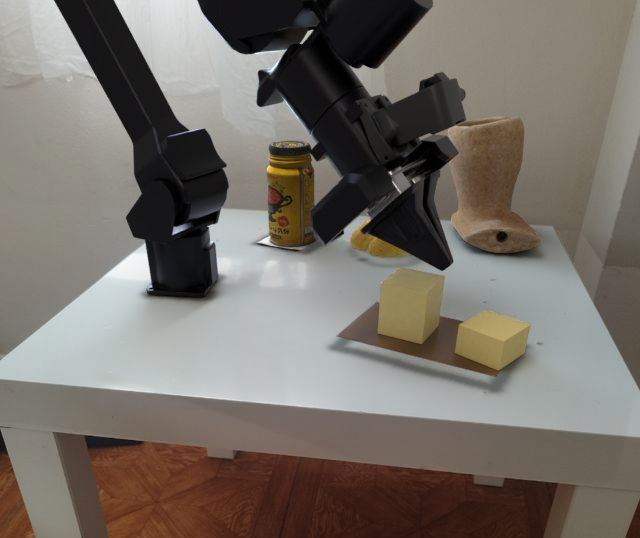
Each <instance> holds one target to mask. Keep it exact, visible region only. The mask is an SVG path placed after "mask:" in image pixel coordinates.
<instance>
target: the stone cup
mask: <svg viewBox="0 0 640 538" xmlns="http://www.w3.org/2000/svg"><path fill="white" fill-rule="evenodd" d="M447 136H448V138H449V139H450V140H451V142H452V143H453V145H454V146H455V148H456V149H457V150H458V152H459V153H458V154H457V155H456V156H455V157H454V158H453V159H452V160H451V161H450V162H448V165H449V168H450V171H451V175H452V179H453V182H454V187H455V192H456V197H457V203H458V205H457V207H458V208H457V211H455V212H454V213H452V214H451V217H450V223H451V225H452V227H453V228H454V230H455V231H456V233H457V234H458V235H459V236H460V238H461V240H463V241H464V242H465V243H467V244H468V245H470V246H472V247H475V248H478V249H480V250H483V251H486V252H490V253H493V254H510V253H512V254H515V253H519V252H525V251H528V250H531V249H535V248H537V247H539V246H540V245H541V244H542V243H543V241H542V238H541V237H540V236H539V234H538V233H537V231H535V230H534V228H533V227H532V226H530V225H529V223H528V222H527V221H526V220H525V219H524V218H523V217H522V216H520V215H519V214H518V213H516V212H514V211H512V200H513V194H514V190H515V187H516V183H517V180H518V177H519V175H520V171H521V168H522V163H523V157H524V145H525V144H524V142H525V126H524V122H523V120H522V119H521V118H520V117H519V116H517V115H515V116H513V117H511V116H507V115H499V116H491V117H484V118H480V119H469V120H467V119H466V121H464V122H461V123H459V124H457V125H455V126H453V127H451V128H448V129H447Z"/></svg>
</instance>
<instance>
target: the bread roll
mask: <svg viewBox="0 0 640 538" xmlns="http://www.w3.org/2000/svg"><path fill="white" fill-rule="evenodd" d="M370 221H371V220H370V219H367V220H366V221H364V222H363V223H361V224H360V225H358V226H357V227H356V228H355V229H354V230H353V232H352V233H351V234H350V238H349V244H350V246H351V247H352V248H353V249H355V250H358V251H362V252H367V253H368V254H369V255H371V256H374V257H378V258H379V257H380V258H403V257H410V256H412V255H411V254H409V253H407V252H406V251H403V250H401V249H399V248H397V247H395V246H393V245H391V244H389V243H387V242H385V241H383V240H381V239H378V238H376V237H374V236H372V235H370V234H365V235H364V234H362V233H361V232H360V230H361V229H362V228H363V227H364V226H365V225H366V224H368V223H369V222H370Z"/></svg>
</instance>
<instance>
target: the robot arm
mask: <svg viewBox="0 0 640 538" xmlns="http://www.w3.org/2000/svg"><path fill="white" fill-rule="evenodd" d="M53 1H54V3H55V5H56V7H57V9H58V11H59V12H60V14H61V16H62V18H63V20H64V21H65V23H66V25H67V27H68V29H69V30H70V33H71V34H72V36H73V37H74V39H75V41H76V43H77V46H78V47H79V48H80V50H81V53H83V55H84V57H85V59H86V60H87V63H88V64H89V67H90V68H91V70H92V73H94V75H95V77H96V79H97V82H98V83H99V85H100V86H101V88H102V90H103V92H104V94H105V95H106V97H107V99H108V101H109V102H110V104H111V106H112V108H113V110H114V111H115V112H114V113H116V116H117V117H118V119H119V121H120V122H121V124H122V126H123V128H124V130H125V132H126V134H127V135H128V137H129V138H130V141H131V143H132V153H133V158H132V159H133V176H134V179H135V181H136V183H137V186H138V188H139V191H140V193H141V194H140V195H139V197H138V198H137V200H136V202H135V203H133V205H132V207H131V209H129V210H128V213H127V215H126V216H125V221H126V223H127V225H128V228H129V230H130V233H131V235H132V237H133V238H135V239H139V240H143V241H144V244H145V250H146V255H147V263H148V269H149V275H150V282H151V283H150V284H149V285H148V286H147V287H146V289H145V290H146V291H145V292H146V294H148V295H159V296H160V295H161V296H173V297H174V296H175V297H177V296H178V297H191V298H195V297H196V298H203V297H206V295H207V293H208V292H209V291H210V289H211V288H212V286H213V285H214V284H215V282H216V281H217V280H218V278H219V271H218V270H219V269H218V258H217V257H218V256H217V247H216V243H215V241H211V233H210V227H209V226H212V225H217V224H218V223H219V220H220V215H221V210H222V207H223V206H225V203H226V201H227V198H228V190H229V188H230V184H229V179H228V177H227V175H226V172H225V170H224V169H225V168H227V165H228V164H227V163H226V162H225V161H224V160H223V159H222V157H221V156H220V155H219V153H218V152H217V149H216V147H215V145H214V142H213V139H212V137H211V135H210V134H209V131H208V130H207V129H206V128H205V127H201V128H197V129H193V130H190V129H189V128H188V127H186V126H185V125H184V124H183V123H181V122H180V120H178V117H176V115H175V113H174V111H173V109H172V107H171V105H170V103H169V102H168V100H167V98H166V96H165V94H164V92H163V90H162V88H161V87H160V85H159V83H158V81H157V78H156V77H155V75H154V73H153V71H152V69H151V68H150V65H149V63H148V61H147V59H146V58H145V56H144V54H143V53H142V50H141V48H140V47H139V44H138V43H137V40H136V39H135V37H134V36H133V33H132V32H131V29H130V27H129V26H128V24H127V22H126V20H125V17H124V16H123V14H122V12H121V10H120V9H119V7H118V5H117V3H116V1H115V0H53ZM196 1H197V3H198V7H199V8H200V12H201V14H202V16H203V17H204V19H206V21H207V22H208V23H209V24H210V25H211V27H212V28H213V29H214V30H215V32H216V33H217V34H218V35H219V36H220V38H222V40H223V41H224V43H226V44H227V46H228V47H230V48H231V49H232V50H233V51H235V52H237V53H238V54H242V55H247V56H248V55H259V54H267V53H278V52H279V53H280V52H284V53H282V55H281V56H280V57H279V59H278V61H277V62H276V63H275V65H274V66H273V67H269V68H268V67H267V68H263V69H258V71H257V79H258V84H257V89H256V99H255V103H256V106H257V107H259V108H264V107H269V106H273V105H277V104H282V103H284V102H285V103H286V105H287V106H288V107H289V109H290V110H291V112H292V113H293V114H294V116H295V117H296V118H297V120H298V121H299V122H300V124H301V126H302V127H303V128H304V129H305V131H306V132H307V133H308V135H309V136H310V138H311V139H312V141H313V142H314V143H315V145H314V146H313V147H311V151H310V153H311V157H313V159H314V160H315V161H316V162H321V161H323V160H325V159H326V160H327V161H328V162H329V164H330V165H331V167H332V169H334V171H335V172H336V173H337V175H338V176H339V178H340V180H339V181H338V182H337V183H336V184H335V185H333V187H332V188H331V189H330V190H329V191H328V192H327V193H326V194H325V195H324V196H323V197H321V199H320V200H318V202H316V204H314V207H313V208H312V209H311V210H310V228H311V230H312V231H313V232H314V234H315V235H316V236H317V238H318V239H319V240H318V241H319V242H320V243H321V244H322V246H323V247H327V246H329V245H330V244H331V243H333V242H335V241H337V240H338V239H340V238H342V236H343V235H344V234H345V229H346V228H347V227H349V226H350V225H351V224H352V223H353V222H354V221H355V220H356V219H357V218H359V216H361V214H362V213H363V212H364V211H365V210H367V212H366V213H365V214H366V216H367V217H368V220H371V221H370V222H369V223H368V224H366V225H365V226H364V227H363V228H362V229H361V230H360V232H361V233H362V234H364V235H365V234H370V235H372V236H374V237H376V238H378V239H381V240H383V241H385V242H387V243H389V244H391V245H393V246H395V247H397V248H399V249H401V250H403V251H406V252H407V253H409V254H411V255H410V256H413V257H415V258H416V259H418V260H420V261H422V262H424V263H425V264H427V265H429V266H431V267H433V268H435V269H437V270H439V271H442V272H443V271H446V270H447V269H448V268H450V267H451V266H452V265H453V263H454V258H453V255H452V252H451V249H450V245H449V242H448V240H447V236H446V233H445V231H444V228H443V225H442V222H441V220H440V216H439V212H438V209H437V206H436V201H435V195H436V191H437V185H438V181H439V178H440V177H441V170H442V169H443V168H444V167H446V165H447V164H449V162H450V161H451V160H452V159H453V158H454V157H455V156H456V155H457V154H458V153H459V152H458V150H457V149H456V148H455V146H454V145H453V143H452V142H451V140H450V139H449V138H448V135H444V134H439V133H441V132H444V131H446V130H449V128H451V127H453V126H455V125H457V124H459V123H461V122H464V121H467V117H466V113H465V109H464V104H463V101H464V100H465V99H466V95H467V93H466V90H465V89H464V88H462V87H461V86H460V85H459V82H458V79H457V78H455V77H454V78H449V77H448V76H447V75H446V73H445V72H444V71H440V72H436V73H434V74H433V75H431V76H429V77H428V78H424V79H421V80H420V81H419V82H418V84H419V85H418V89H417V92H415V93H414V92H413V93H412V94H410V95H408V96H406V97H403V98H401V99H399V100H397V101H395V102H393V103H392V102H391V101H390V99H389V98H388V97H387V95H385V94H384V95H382V93H381V94H377V95H371V94H370V92H369V91H368V90H367V88H366V87H365V85H364V84H363V82H362V81H361V80H360V78H359V77H358V75H357V74H356V73H355V71H354V69H356V70H357V69H358V70H359V69H361V68H362V67H363V66H364V67H367V68H368V69H373V70H378V68H380V67H381V65H382V64H383V63H384V62H386V60H388V58H389V57H390V56H391V54H392V53H393V52H394V51H395V50H396V49H397V48H398V47H399V46H400V44H402V42H403V41H404V40H405V38H406V37H407V36H408V35H409V34H410V33H411V32H412V31H413V30H414V29H415V27H416V26H417V25H418V24H419V23H420V22H421V21H422V19H423V18H425V16H426V15H427V14H428V13H429V12H430V11H431V10H432V9H433V6H434V0H196ZM308 32H311V33H310V34H309V35H308V36H307V34H308ZM306 36H307V38H306V39H305V37H306ZM304 39H305V40H304ZM303 40H304V41H303ZM429 134H430V135H429ZM426 135H429V136H427V137H424V136H426ZM421 137H424V138H422V139H420V138H421Z"/></svg>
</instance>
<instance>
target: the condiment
mask: <svg viewBox="0 0 640 538" xmlns="http://www.w3.org/2000/svg"><path fill="white" fill-rule="evenodd" d="M311 150H312V146H311V144H310V143H309V142H307V141H303V140H277V141H273V142H271V143H269V146H268V154H269V155H268V164H269V165H268V167H267V168H266V193H267V194H266V195H267V214H268V215H267V218H268V219H267V220H268V236H266V237H264V238H263V239H261V240H259V241H256V243H258V244H263V245H267V246H271V247H276V248H283V249H288V250H298V251H302V250H304V249H306V248H307V247H309V246H311V245H312V244H314V243H316V242H317V241H320V240H319V239H318V238H317V236H316V235H315V234H314V232H313V231H312V230H311V228H310V210H311V209H312V208H313V207H314V206H315V168H314V166H313V165H312V164H313V163H312V161H313V158H312V155H311V153H310V151H311Z"/></svg>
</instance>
